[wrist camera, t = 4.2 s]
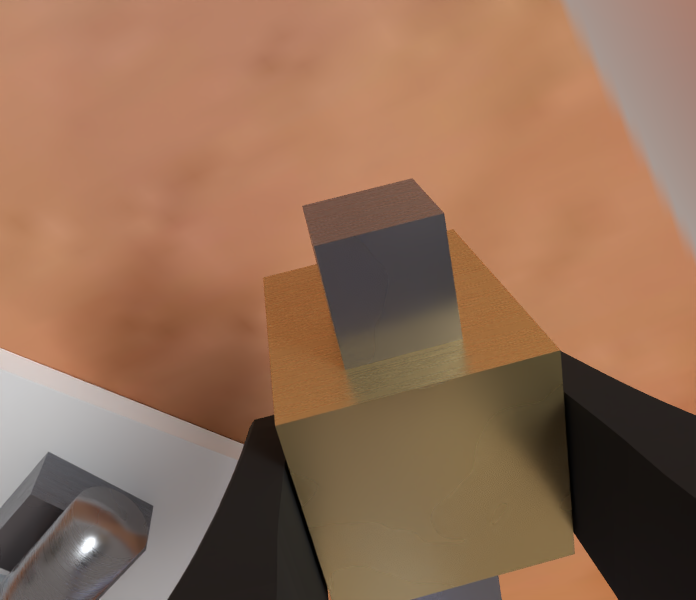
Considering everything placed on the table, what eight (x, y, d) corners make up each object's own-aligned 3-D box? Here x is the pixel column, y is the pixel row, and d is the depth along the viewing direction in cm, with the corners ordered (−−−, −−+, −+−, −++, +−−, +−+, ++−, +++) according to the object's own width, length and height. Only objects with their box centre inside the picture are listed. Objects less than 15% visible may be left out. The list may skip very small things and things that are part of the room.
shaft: (75, 420, 21) (35, 521, 17) (179, 477, 22) (166, 582, 18) (-27, 538, 22) (-85, 658, 18) (79, 585, 24) (46, 704, 20)
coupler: (439, 133, 12) (550, 213, 8) (485, 453, 16) (579, 632, 12) (234, 183, 12) (232, 295, 8) (327, 495, 16) (362, 693, 11)
